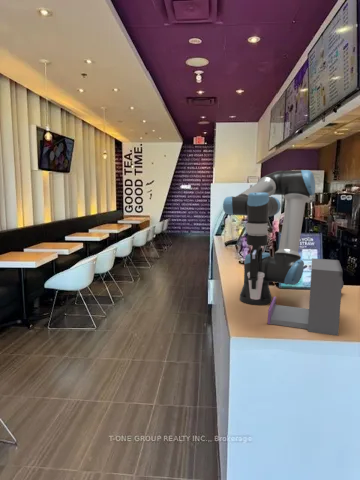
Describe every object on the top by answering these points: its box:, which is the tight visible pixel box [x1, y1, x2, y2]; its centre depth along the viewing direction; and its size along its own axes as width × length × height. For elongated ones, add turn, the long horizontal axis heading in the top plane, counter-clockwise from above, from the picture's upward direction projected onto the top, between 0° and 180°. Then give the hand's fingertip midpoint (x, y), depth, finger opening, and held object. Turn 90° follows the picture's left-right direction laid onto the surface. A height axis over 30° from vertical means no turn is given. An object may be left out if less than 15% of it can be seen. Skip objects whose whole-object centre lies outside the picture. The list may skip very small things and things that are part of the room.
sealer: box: [307, 258, 344, 336], centre depth 138 cm, size 10×23×24 cm, turn 159°
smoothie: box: [247, 272, 264, 300], centre depth 132 cm, size 6×6×14 cm
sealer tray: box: [267, 296, 309, 330], centre depth 144 cm, size 16×20×6 cm
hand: (255, 294), depth 133 cm, fingers closed on smoothie, 6 cm apart
